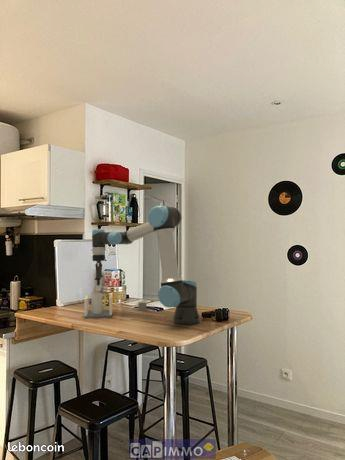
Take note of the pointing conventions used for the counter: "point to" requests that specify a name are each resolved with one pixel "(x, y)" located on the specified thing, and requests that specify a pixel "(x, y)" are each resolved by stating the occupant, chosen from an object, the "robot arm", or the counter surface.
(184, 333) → the counter surface
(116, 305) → the counter surface
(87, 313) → the grey u-shaped piece
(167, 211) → the robot arm
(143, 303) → the junction box
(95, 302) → the mug
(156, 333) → the counter surface
